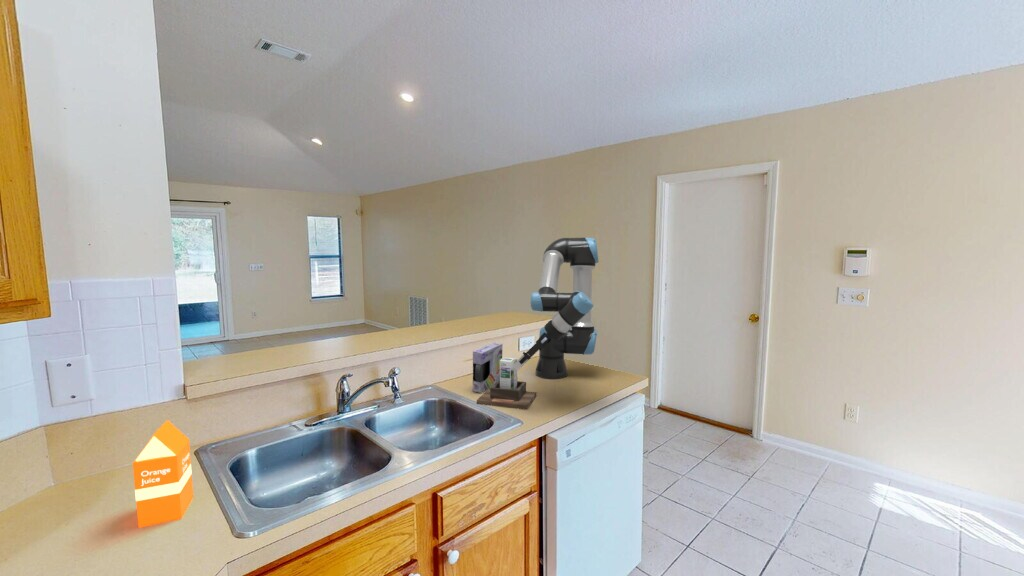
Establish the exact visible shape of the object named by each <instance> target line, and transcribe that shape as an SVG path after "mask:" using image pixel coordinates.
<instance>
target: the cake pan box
mask: <svg viewBox="0 0 1024 576" xmlns="http://www.w3.org/2000/svg"><path fill="white" fill-rule="evenodd" d="M502 358H503V343H501V342H496V341H494V342H493V343H490V344H488V345H485V346H481V347H480V348H477V349H476V350H473V351H472V392H473V393H477V392H478V394H482V392H483V393H485V392H486V391H487V390H488V389H489V388H491V387H492V386H493V385H494V384H495V383H496V382H497V381H498V380H499V379H500V360H501V359H502Z"/></svg>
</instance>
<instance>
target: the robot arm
mask: <svg viewBox="0 0 1024 576" xmlns="http://www.w3.org/2000/svg"><path fill="white" fill-rule="evenodd" d="M542 261H543V266H542V271H541V274H540V281H539V286H538V289H537V291H536V292H535V291H534V292H532V293H531V295H530V308H531V310H532V311H533V312H534V311H535V312H540V313H541V312H549V313H550V312H554V313H555V312H556V314H555V315H554V316H553V317H551V320H549V321H548V322H547V323H546V324H545V325H544V326H542V327H541V328H540V330H539V334H538V335H539V336H538V339H537V340H536V341H535V344H533V345H532V346H531V347H530V348H529V349H528V350H527V351H526V352H525V351H523V352H522V354H523V355H522V356H520V357H519V359H518V358H517V361H516V362H515V363H514V364H513V365H512V366H513V367H514V368H515V369H516V370H517V372H518V371H519V370H520V369H521V368H522V367H523V366H525V364H526V363H527V362H528V361H529V360H530V359H531V358H533V357H534V355H536V353H538V352H539V353H538V355H539V356H538V361H537V364H536V367H535V376H537V377H539V378H542V379H548V380H549V379H550V380H551V379H553V380H554V379H555V380H557V379H563V378H566V377H567V376H568V368H567V364H566V360H565V354H569V355H570V354H571V355H584V356H585V355H593V354H594V353H595V349H596V342H597V337H598V335H597V334H598V330H597V329H596V328H595V325H594V324H593V323H592V308H594V303H593V301H592V289H593V288H592V287H593V286H592V283H593V281H592V280H593V270H594V269H595V268H596V264H599V253H598V243H597V239H595V238H593V237H586V236H585V237H562V238H559V239H556V240H554V241H552V242H551V243H550V244H549V245H548V246H547V247H546V249H545V250H544V252H543V255H542ZM564 263H566V264H568V263H569V266H570V268H571V269H572V273H573V274H572V275H573V277H572V292H557V291H558V286H559V280H560V279H559V278H560V271H561V267H562V265H563V264H564Z"/></svg>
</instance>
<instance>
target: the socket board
mask: <svg viewBox="0 0 1024 576" xmlns="http://www.w3.org/2000/svg"><path fill="white" fill-rule="evenodd" d="M536 397H537V391H536V392H535V391H527V382H526V381H522V380H521V381H519V380H517V390H513V389H503V388H500V379H499V380H498V381H497V382H496V383H495V384H494V385H493V386H492V387H491V388H489V389H487V390H486V391H484V392H483V394H482V395H481V396H479V398H477V399H476V405H483V404H484V406H491V405H492V406H491V407H500V408H501V407H502V408H509V409H510V408H511V409H517V408H519V410H526V411H527V410H528V409H529V407H530V406H531V404H532V403H533V402H534V401H535V399H536Z"/></svg>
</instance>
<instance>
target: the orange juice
mask: <svg viewBox="0 0 1024 576" xmlns="http://www.w3.org/2000/svg"><path fill="white" fill-rule="evenodd" d="M144 446H145V447H144V448H143V449H142V450H141V452H140V453H139V454H138V455H137V457H136V458H135V459H134V460H133V462H132V469H133V480H134V495H135V496H134V497H135V502H136V512H137V513H136V514H137V524H138V527H137V528H138V529H139V528H144V527H148V526H153V525H154V526H155V525H158V524H162V523H163V524H164V523H167V522H171V521H177V520H182V519H183V518H184V515H185V514H186V511H187V510H188V508H189V506H190V504H191V502H192V501H193V499H194V487H193V472H192V461H191V449H190V448H191V447H190V438H188V437H187V435H185V434H184V433H183V432H181V430H180V429H179V428H177V427H175V425H174V424H173V422H172V423H171V422H170V420H168V419H166V421H164V422H163V423H162V425H161V426H160V427H159V428H158V429H156V431H155V432H154V433H153V434H152V437H151V438H150V439H149V441H148V442H147V444H146V445H144Z"/></svg>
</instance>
